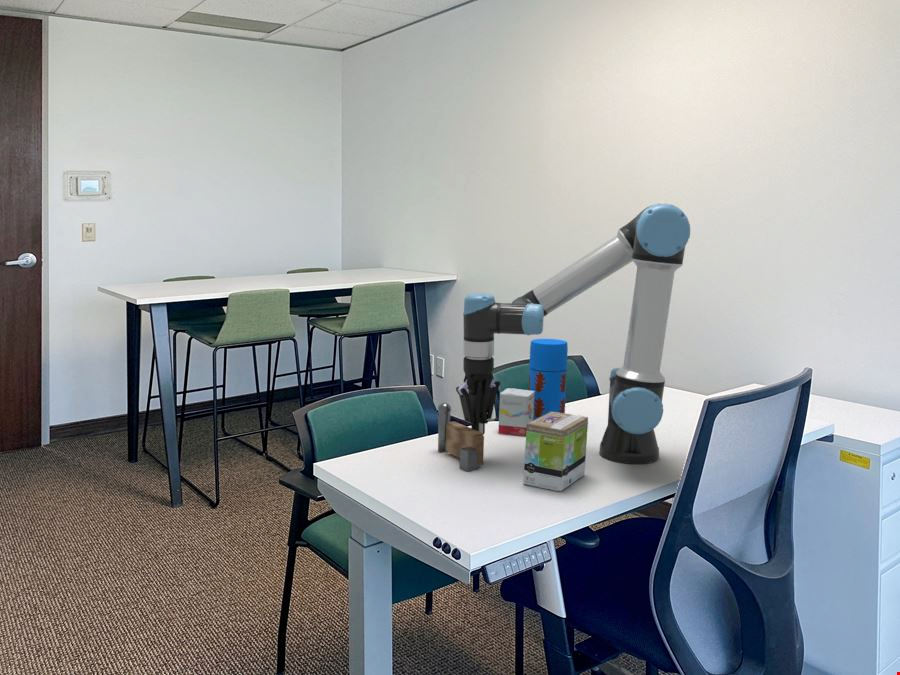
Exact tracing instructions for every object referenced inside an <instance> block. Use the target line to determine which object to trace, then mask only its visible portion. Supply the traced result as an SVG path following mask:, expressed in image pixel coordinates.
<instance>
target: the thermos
mask: <svg viewBox="0 0 900 675" xmlns="http://www.w3.org/2000/svg"><path fill="white" fill-rule="evenodd" d="M568 346H569V345H568V341H566V340H563V339H555V338H536V339H531V340H530V346H529V369H528V370H529V371H528V390H530V391H535V397H534V415H533V420H535V419H537V418H539V417H541V416H543V415H545V414H547V413H549V412H551V411H552V412H559V413H565V414H566V396H567V394H566V393H567V375H568V374H567V370H568V350H569V349H568Z"/></svg>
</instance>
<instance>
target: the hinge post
mask: <svg viewBox="0 0 900 675" xmlns="http://www.w3.org/2000/svg"><path fill="white" fill-rule="evenodd" d="M437 411H438V423H437V425H438V426H437V427H438V429H437V430H438V434H437V440H438V441H437V452H438V451H439V452H438V453H441V452H446V424H447V422H451V412H452V407H451V405H450V403H447V402H442V403H440V404H439V405H438V406H437Z"/></svg>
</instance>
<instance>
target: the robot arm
mask: <svg viewBox="0 0 900 675" xmlns="http://www.w3.org/2000/svg"><path fill="white" fill-rule="evenodd" d="M690 236H691V224H690V221H689V219H688V216H687V215H686V214H685V212H684V211H683V210H682V209H680V208H679V207H678V206H676V205H673V204H669V203H656V204H653V205H649V206H647V207H646V208H644V209H642V210H641V211H640V212H639V214H637V215H635V217H634V218H633V219H632V220H630V221H629V222H628V223H626V224H625V225H623V226H622V227H621V228H619V229H617V233H616V235H615V236H614V237H612V238H610V239H609V240H607V241H606V242H605V243H603V244H601V245H599V246H598V247H596V248H595V249H594V250H592V251H590V252H589V253H587V254H585V255H584V256H582V257H581V258H579V259H577V260H576V261H575V262H573V263H571V264H570V265H568V266H567V267H566V268H564V269H562V270H560V271H559V272H557V273H556V274H555V275H553V276H551V277H550V278H548V279H546V280H545V281H543V282H542V283H540V284H538V285H537V286H535V287H534V288H533V289H531V290H530V291H528V292H526V293H525V294H524V295H522V296H519V297H517V298H515V299H514V300H513V301H512V302H510V303H507V302H506V303H505V302H504V303H503V302H496V299H495V295H493V294H491V293H484V292H483V293H479V292H477V293H470V294H467V295H466V296H465V297H464V302H463V313H462V314H463V315H462V316H463V356H464V357H463V373H464V378H463V383H462V385H460V386H456V388H455V391H456V392H457V395H458V396H459V400H460V405H461V409H462V410H461V411H462V413H463V418H464V421H465V422H466V423H470V424H471V425H470V426H471V427H470V428H472V429H474V430H476V431H479V432H481V433H483V436H484V435H485V433H486V431H485V430H486V424H488V423H489V420H490V419H492V417H493V412H494V407H495V402H496V398H497V392H498V389H499V387H500V385H501V381H499V380H496V379H494V375H493V372H494V371H495V370H494V369H495V368H494V367H495V364H494V362H495V359H494V355H495V334H498V335H499V334H504V335H506V334H508V335H526V336H534V335H541V334H542V333H543V330H544V317H546V316H547V315H549V314H550V313H553V311H555V310H556V309H558V308H560V307H561V306H564V305H565V304H566V303H569V301H572V300H573V299H574V298H576V297H577V296H579V295H581V294H582V293H584V292H586V291H587V290H589V289H590V288H592V287H593V286H595V285H597V284H599V283H600V282H602V281H604V280H605V279H607V278H608V277H609V276H612V274H614V273H616V272H618V271H620V270H621V269H622V268H624V267H625V266H627V265H629V264H631V263H632V262H633V263H634V265H636V272H635V274H636V275H635V281H634V282H635V283H634V288H633V296H632V304H631V309H630V318H629V324H628V331H627V337H626V338H627V339H626V344H625V345H626V346H625V351H624V359H623V365H622V366H621V367H615V368H613V369H611V371H610V376H609V378H608V379H609V393H608V394H609V395H608V411H607V412H608V414H607V426H606V428H605V431H604V433H603V436H602V439H601V442H600V444H599V455H600V456H601V457H602V458H604V459H607V460H610V461H614V462H617V463H618V462H619V463H624V464H632V465H633V464H636V465H637V464H638V465H639V464H641V465H642V464H648V463H654V462H656V461H658V460H659V458H660V457H659V456H660V448H659V446H658V441H657V437H656V433H655V429H656V427H658V425H659V424H660V423H661V420H662V418H663V415H664V405H663V395H664V389H665V384H666V378H665V377H664V375H663V374H662V372H661V366H662V365H661V364H662V358H663V351H664V344H665V339H666V331H667V326H668V325H667V324H668V319H669V312H670V304H671V299H672V298H671V297H672V291H673V285H674V280H675V279H674V278H675V272H676V271H677V270H679V269H680V268H681V267H682V266H683V265H684V264H683V262H684V258H685V257H684V256H685V251H686V245H687V244H688V242H689V240H690Z"/></svg>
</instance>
